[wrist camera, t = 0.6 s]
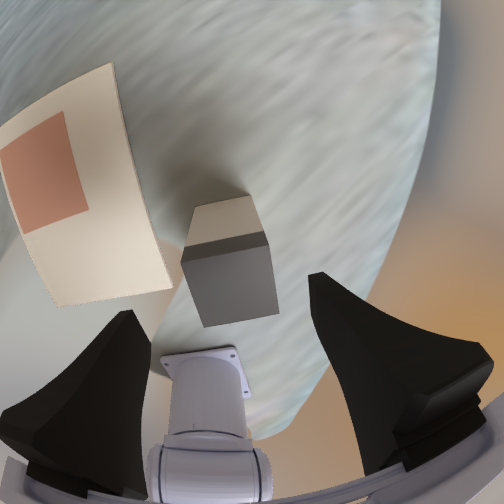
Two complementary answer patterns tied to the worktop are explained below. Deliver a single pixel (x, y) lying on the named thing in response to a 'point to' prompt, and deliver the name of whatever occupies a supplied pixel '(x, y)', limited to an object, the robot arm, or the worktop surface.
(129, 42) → the worktop surface
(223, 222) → the grey rectangular block
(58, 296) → the paper sheet
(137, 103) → the worktop surface
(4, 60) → the worktop surface
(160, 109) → the worktop surface
